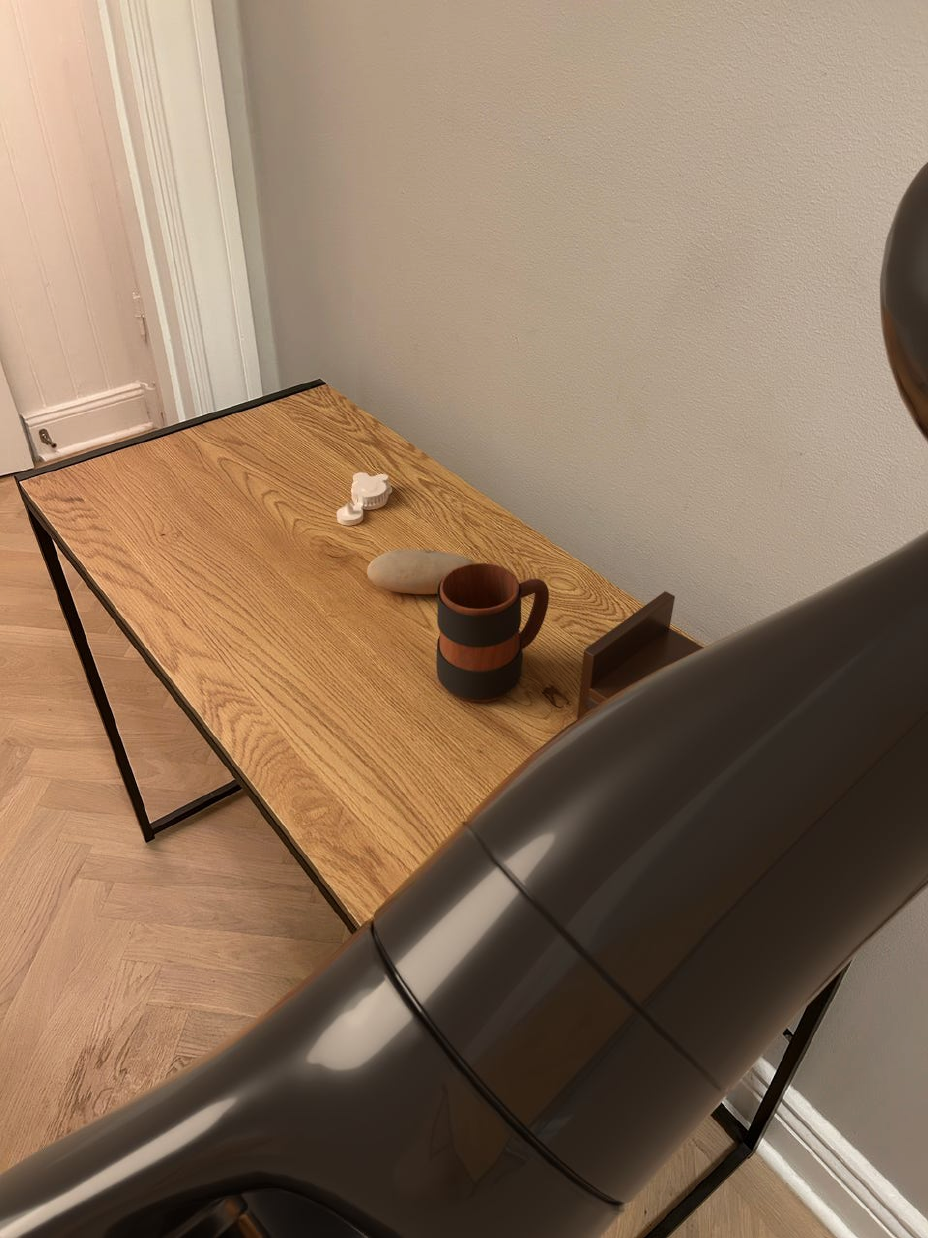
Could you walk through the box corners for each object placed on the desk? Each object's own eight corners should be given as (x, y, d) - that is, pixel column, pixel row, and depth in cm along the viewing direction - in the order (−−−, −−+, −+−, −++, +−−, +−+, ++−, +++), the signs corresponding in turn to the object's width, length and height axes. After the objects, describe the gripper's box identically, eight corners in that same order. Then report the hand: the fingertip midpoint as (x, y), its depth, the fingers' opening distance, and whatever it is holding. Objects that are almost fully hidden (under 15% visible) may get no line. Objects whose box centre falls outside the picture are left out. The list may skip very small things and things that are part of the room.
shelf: (745, 722, 90) (765, 645, 84) (669, 791, 84) (685, 713, 77) (652, 667, 96) (665, 590, 90) (575, 727, 90) (583, 649, 83)
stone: (365, 553, 107) (465, 521, 106) (383, 603, 109) (482, 572, 108) (359, 569, 102) (465, 536, 100) (379, 621, 104) (483, 589, 102)
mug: (566, 677, 95) (574, 587, 87) (461, 718, 91) (459, 626, 83) (523, 628, 101) (527, 539, 93) (422, 664, 97) (418, 574, 89)
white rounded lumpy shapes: (327, 488, 123) (326, 474, 121) (392, 478, 124) (391, 464, 123) (339, 527, 116) (337, 513, 114) (407, 516, 117) (406, 502, 116)
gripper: (648, 1067, 31) (674, 955, 47) (275, 925, 35) (413, 866, 51) (591, 1292, 31) (636, 1104, 46) (220, 1122, 35) (376, 1002, 50)
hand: (520, 980), depth 48 cm, fingers open, 8 cm apart
